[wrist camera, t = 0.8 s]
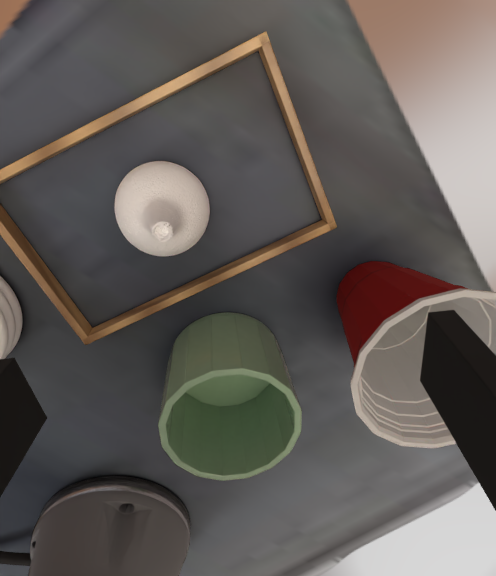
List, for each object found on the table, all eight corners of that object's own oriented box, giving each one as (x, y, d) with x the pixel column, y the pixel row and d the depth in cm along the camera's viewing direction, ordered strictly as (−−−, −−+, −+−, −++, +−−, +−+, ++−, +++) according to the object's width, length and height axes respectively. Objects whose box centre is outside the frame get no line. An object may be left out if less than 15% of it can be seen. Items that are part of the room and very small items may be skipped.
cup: (202, 420, 35) (201, 498, 28) (148, 341, 31) (130, 407, 24) (296, 379, 34) (321, 447, 27) (253, 293, 30) (268, 345, 23)
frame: (90, 336, 30) (85, 345, 29) (-24, 185, 25) (-36, 188, 24) (331, 223, 29) (337, 227, 27) (262, 36, 24) (266, 30, 22)
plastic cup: (282, 269, 30) (326, 352, 19) (408, 206, 29) (533, 253, 18) (331, 368, 34) (390, 482, 23) (442, 315, 33) (560, 408, 22)
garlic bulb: (104, 179, 26) (63, 199, 19) (188, 145, 26) (181, 151, 18) (145, 259, 28) (124, 305, 21) (222, 229, 28) (228, 265, 21)
